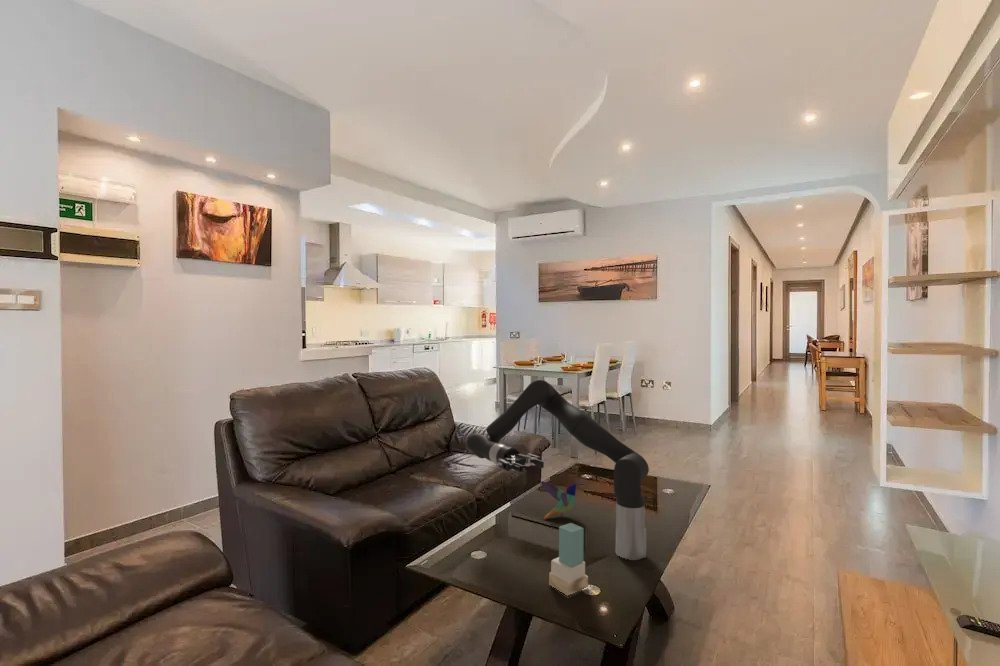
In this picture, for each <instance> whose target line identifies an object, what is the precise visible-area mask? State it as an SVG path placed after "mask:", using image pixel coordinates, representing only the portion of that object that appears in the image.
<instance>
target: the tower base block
mask: <svg viewBox="0 0 1000 666" xmlns="http://www.w3.org/2000/svg"><path fill="white" fill-rule="evenodd" d="M548 574H549V576H548V578H549V579H548V585H549V586H550V585H551V586H552V587H551V586H550V587H551V588H553V587H554V588H556V589H557V590H559V591H560V592H562V593H564V594H565V595H567V596H568V595H570V594H573V593H575V592H577V591H580V590H582V589H584V588H586V587H588V588H589V576H588V575H587V574H585V575H584V576H582V577H581V578H579V579H577V580H575V581H573V582H571V583H568V582H566V581H564V580H562V579H560V578H558V577H556V576H555V575H553V574H551V571H550V572H548ZM554 588H553V589H554ZM556 589H555V590H556ZM557 590H556V591H557ZM559 591H558V592H559ZM560 592H559V593H560ZM562 593H561V594H562ZM565 595H564V596H565Z"/></svg>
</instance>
